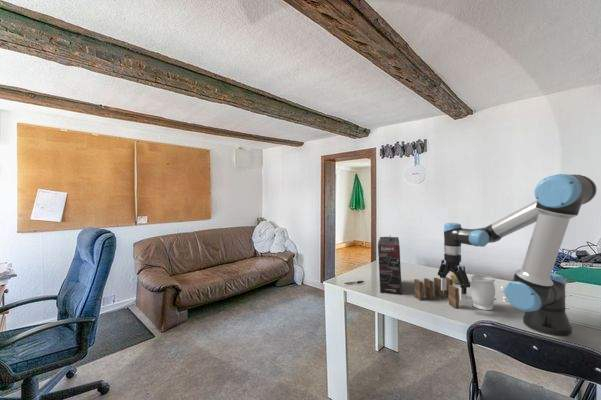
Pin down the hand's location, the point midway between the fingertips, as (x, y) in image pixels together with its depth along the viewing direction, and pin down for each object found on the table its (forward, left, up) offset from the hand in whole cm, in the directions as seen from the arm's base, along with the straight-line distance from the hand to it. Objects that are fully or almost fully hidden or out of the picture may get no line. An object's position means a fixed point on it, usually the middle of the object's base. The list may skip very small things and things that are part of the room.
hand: (452, 294), depth 137 cm
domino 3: (+13, -1, -6) cm, 14 cm away
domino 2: (+13, +5, -6) cm, 15 cm away
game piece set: (+8, -34, -6) cm, 35 cm away
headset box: (+34, +17, -6) cm, 38 cm away
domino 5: (0, 0, -6) cm, 6 cm away
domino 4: (+13, -7, -6) cm, 16 cm away
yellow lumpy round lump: (+30, -28, -6) cm, 41 cm away
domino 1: (+13, +11, -6) cm, 18 cm away
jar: (-4, -13, -6) cm, 15 cm away
